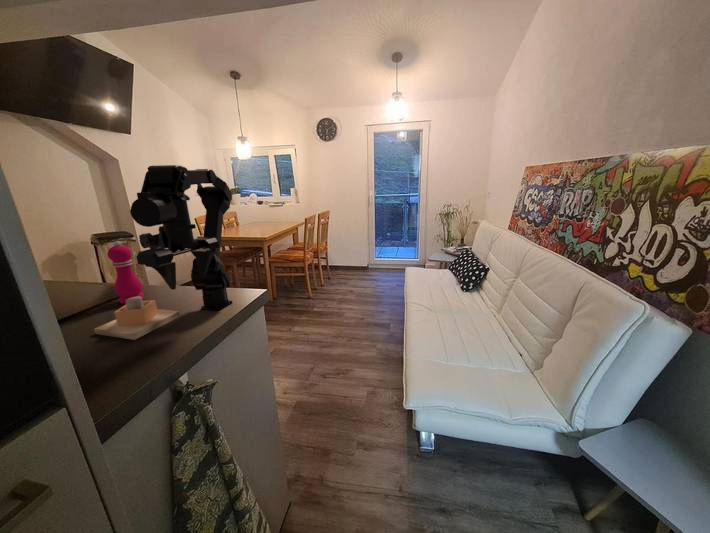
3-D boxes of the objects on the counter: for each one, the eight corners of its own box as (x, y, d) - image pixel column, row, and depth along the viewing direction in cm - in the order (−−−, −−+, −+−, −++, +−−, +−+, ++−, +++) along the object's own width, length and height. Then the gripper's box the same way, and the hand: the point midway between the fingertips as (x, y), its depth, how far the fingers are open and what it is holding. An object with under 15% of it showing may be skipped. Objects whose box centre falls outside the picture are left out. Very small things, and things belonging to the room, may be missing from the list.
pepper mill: (117, 306, 87) (99, 244, 82) (119, 299, 93) (102, 240, 87) (145, 300, 91) (130, 241, 86) (145, 294, 97) (131, 238, 91)
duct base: (144, 312, 82) (138, 288, 80) (179, 316, 79) (174, 291, 77) (95, 333, 70) (87, 306, 68) (134, 339, 67) (126, 311, 65)
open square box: (132, 315, 77) (129, 302, 76) (158, 313, 78) (154, 300, 77) (118, 326, 71) (114, 312, 70) (145, 323, 72) (142, 309, 71)
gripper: (181, 216, 77) (192, 270, 81) (109, 226, 59) (127, 294, 64) (215, 216, 74) (224, 272, 78) (149, 226, 56) (165, 297, 61)
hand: (189, 282), depth 70 cm, fingers open, 9 cm apart
